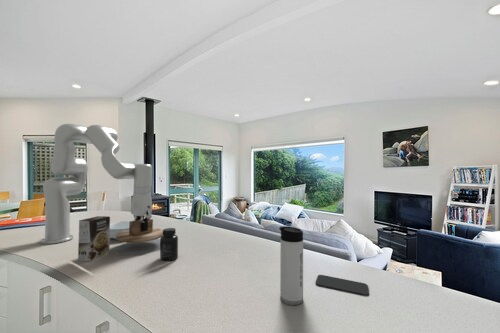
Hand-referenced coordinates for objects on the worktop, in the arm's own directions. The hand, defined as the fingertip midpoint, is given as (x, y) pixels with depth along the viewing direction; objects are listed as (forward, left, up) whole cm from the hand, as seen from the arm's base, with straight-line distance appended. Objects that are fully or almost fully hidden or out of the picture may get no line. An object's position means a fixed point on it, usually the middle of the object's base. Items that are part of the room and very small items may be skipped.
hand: (141, 229), depth 105 cm
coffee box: (-4, -18, -8) cm, 20 cm away
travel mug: (+75, -1, -8) cm, 75 cm away
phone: (+85, +15, -9) cm, 87 cm away
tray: (+1, 0, -8) cm, 8 cm away
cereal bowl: (-21, +3, -8) cm, 23 cm away
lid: (0, 0, -3) cm, 3 cm away
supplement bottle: (+23, -2, -8) cm, 24 cm away
